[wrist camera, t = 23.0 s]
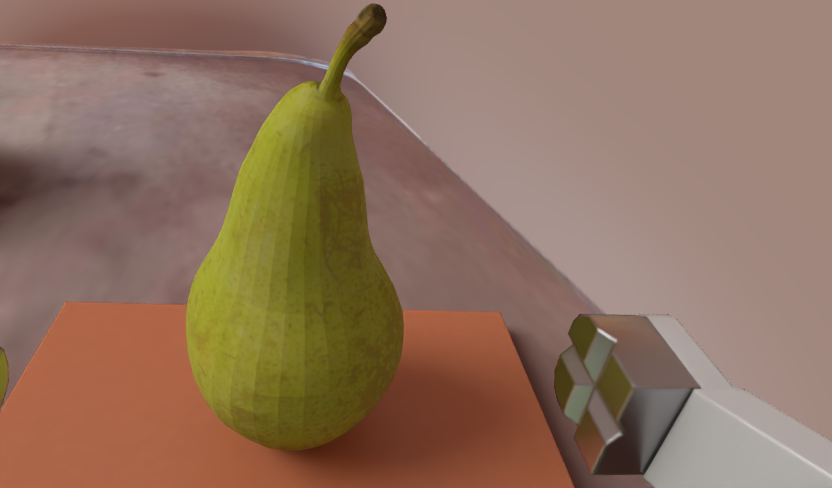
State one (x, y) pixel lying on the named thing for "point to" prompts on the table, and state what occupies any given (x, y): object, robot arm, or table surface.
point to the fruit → (297, 278)
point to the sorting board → (251, 462)
